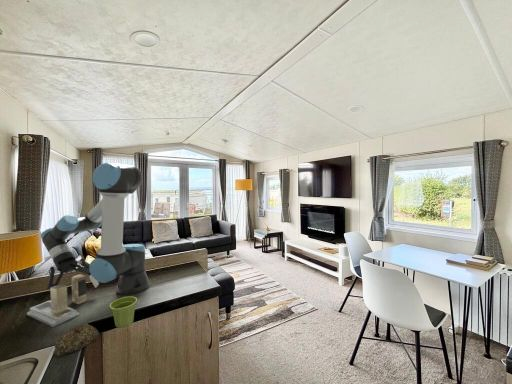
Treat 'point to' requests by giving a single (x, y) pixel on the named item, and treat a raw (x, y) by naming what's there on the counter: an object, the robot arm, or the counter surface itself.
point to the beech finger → (78, 289)
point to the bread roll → (76, 339)
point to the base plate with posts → (54, 308)
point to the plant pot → (123, 311)
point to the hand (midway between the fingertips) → (81, 291)
